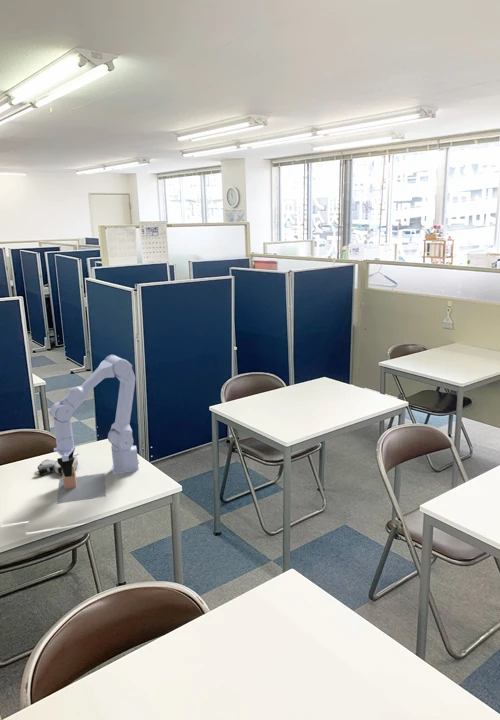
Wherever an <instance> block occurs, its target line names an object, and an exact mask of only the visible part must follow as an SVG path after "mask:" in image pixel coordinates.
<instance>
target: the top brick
mask: <svg viewBox="0 0 500 720" xmlns="http://www.w3.org/2000/svg"><path fill="white" fill-rule="evenodd" d="M75 474H76V468H75V467H74V462H73V465H72V475H71V476H69V477H65V475H64V473H63V470H62V479H64V478H71V477H75Z"/></svg>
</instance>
